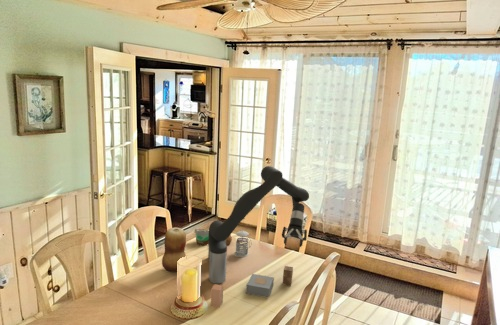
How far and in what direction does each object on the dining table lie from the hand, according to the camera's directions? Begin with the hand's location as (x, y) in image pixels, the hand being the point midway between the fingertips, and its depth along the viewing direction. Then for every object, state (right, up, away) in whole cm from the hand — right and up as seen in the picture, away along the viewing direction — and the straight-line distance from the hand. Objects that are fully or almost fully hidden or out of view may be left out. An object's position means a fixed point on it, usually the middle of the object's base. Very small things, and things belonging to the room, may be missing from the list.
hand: (292, 245), depth 203 cm
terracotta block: (-41, -22, -30) cm, 55 cm away
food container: (-57, -8, +38) cm, 69 cm away
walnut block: (-4, -19, -8) cm, 21 cm away
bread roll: (-43, -8, +43) cm, 62 cm away
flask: (-45, -13, +14) cm, 49 cm away
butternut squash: (-68, -15, +1) cm, 70 cm away
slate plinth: (-19, -20, -15) cm, 32 cm away
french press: (-29, -12, +25) cm, 40 cm away
